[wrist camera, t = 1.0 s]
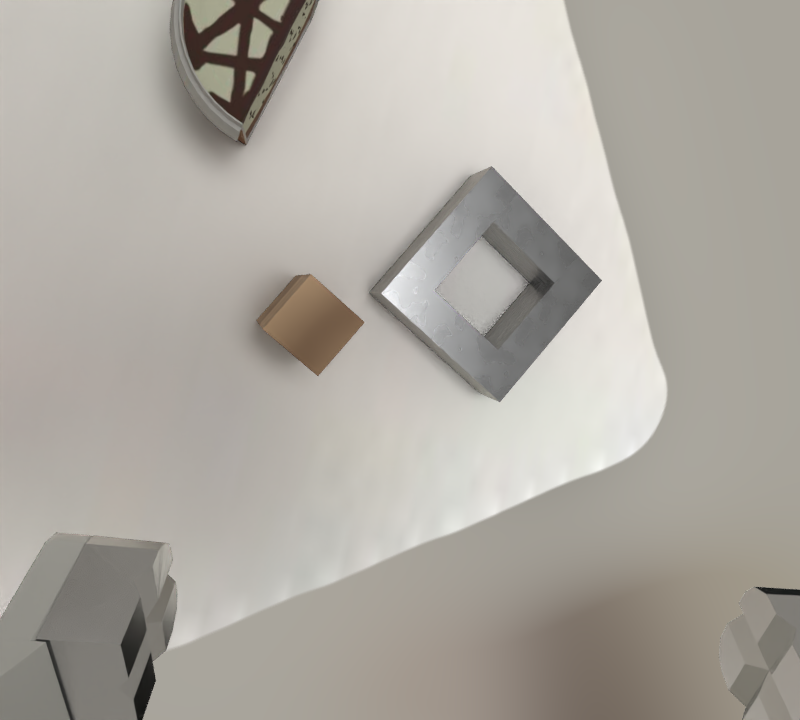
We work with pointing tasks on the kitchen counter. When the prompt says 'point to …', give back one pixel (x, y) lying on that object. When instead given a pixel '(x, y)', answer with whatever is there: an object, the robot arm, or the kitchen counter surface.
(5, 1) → the kitchen counter surface
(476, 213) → the steel socket
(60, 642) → the robot arm
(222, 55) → the food container
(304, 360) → the walnut key peg
